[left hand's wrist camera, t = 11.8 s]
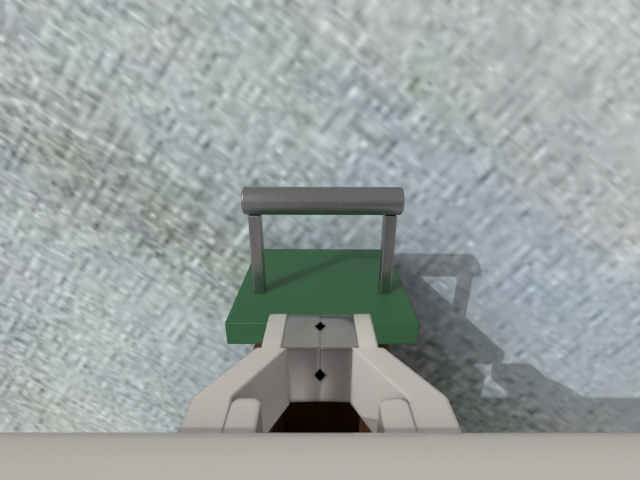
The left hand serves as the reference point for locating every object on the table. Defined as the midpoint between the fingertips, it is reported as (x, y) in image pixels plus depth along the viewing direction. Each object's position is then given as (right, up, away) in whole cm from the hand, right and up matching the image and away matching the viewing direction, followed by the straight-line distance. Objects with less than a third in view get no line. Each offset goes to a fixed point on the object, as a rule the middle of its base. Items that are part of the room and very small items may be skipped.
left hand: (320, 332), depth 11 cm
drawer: (0, -4, +16) cm, 16 cm away
